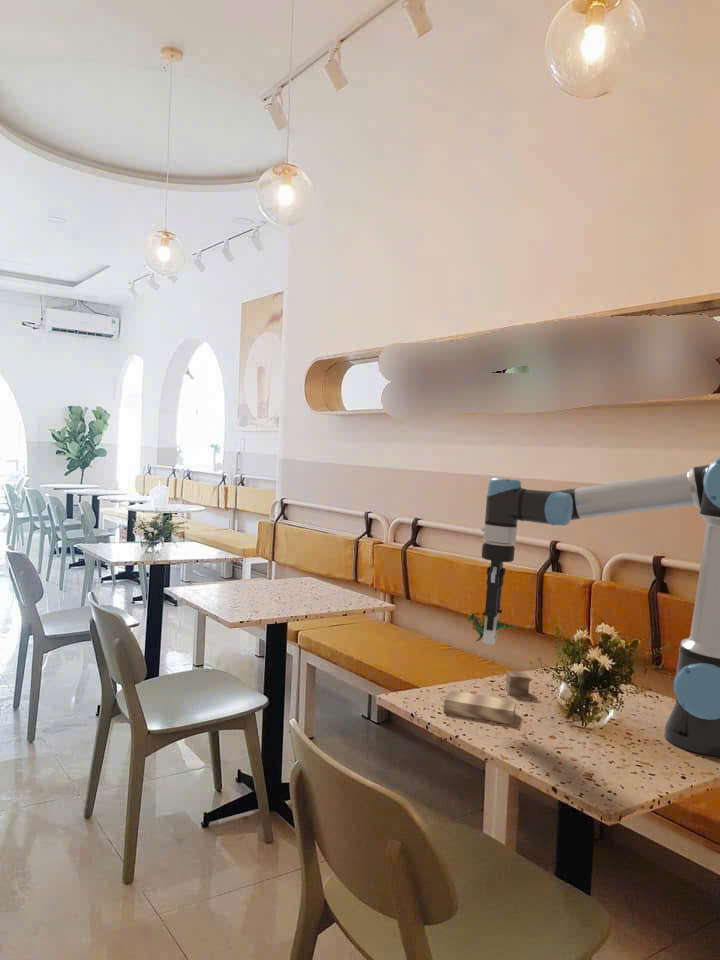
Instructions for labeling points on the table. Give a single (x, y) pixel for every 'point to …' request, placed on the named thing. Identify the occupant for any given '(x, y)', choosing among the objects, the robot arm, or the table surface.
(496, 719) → the beige rectangular block
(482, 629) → the figurine
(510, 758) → the table surface
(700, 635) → the robot arm
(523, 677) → the grey brown cube
